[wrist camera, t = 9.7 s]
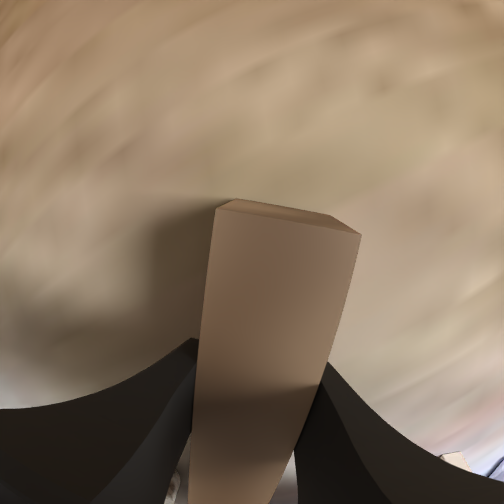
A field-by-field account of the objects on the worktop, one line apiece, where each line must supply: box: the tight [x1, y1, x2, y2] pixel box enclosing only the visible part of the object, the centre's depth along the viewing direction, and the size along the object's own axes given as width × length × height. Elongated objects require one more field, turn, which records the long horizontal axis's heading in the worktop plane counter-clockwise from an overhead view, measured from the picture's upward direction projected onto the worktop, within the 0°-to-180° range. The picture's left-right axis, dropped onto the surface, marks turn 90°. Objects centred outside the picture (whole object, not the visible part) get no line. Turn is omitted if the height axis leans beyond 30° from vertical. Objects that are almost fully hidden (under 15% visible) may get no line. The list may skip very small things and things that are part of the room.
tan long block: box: [188, 199, 362, 504], centre depth 10 cm, size 3×16×4 cm, turn 171°
